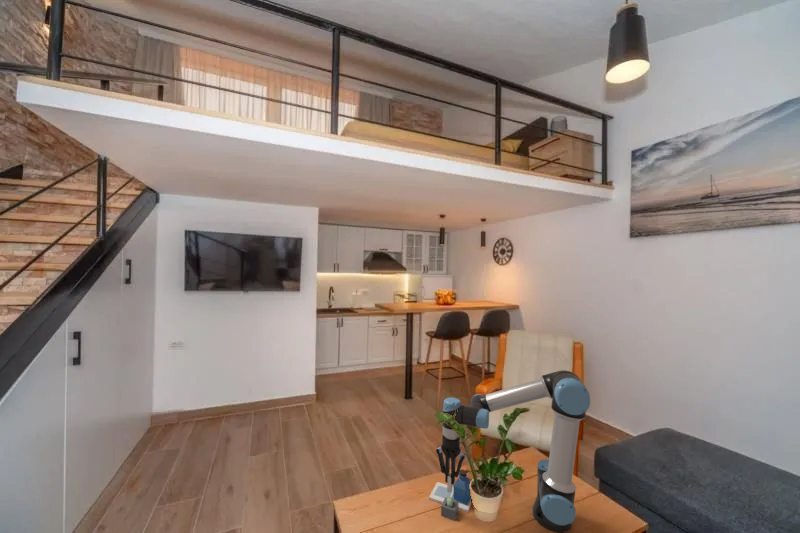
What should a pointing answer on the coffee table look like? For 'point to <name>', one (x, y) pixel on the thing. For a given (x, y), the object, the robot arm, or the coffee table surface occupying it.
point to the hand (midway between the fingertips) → (449, 490)
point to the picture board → (441, 493)
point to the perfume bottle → (462, 488)
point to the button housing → (449, 509)
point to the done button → (450, 502)
